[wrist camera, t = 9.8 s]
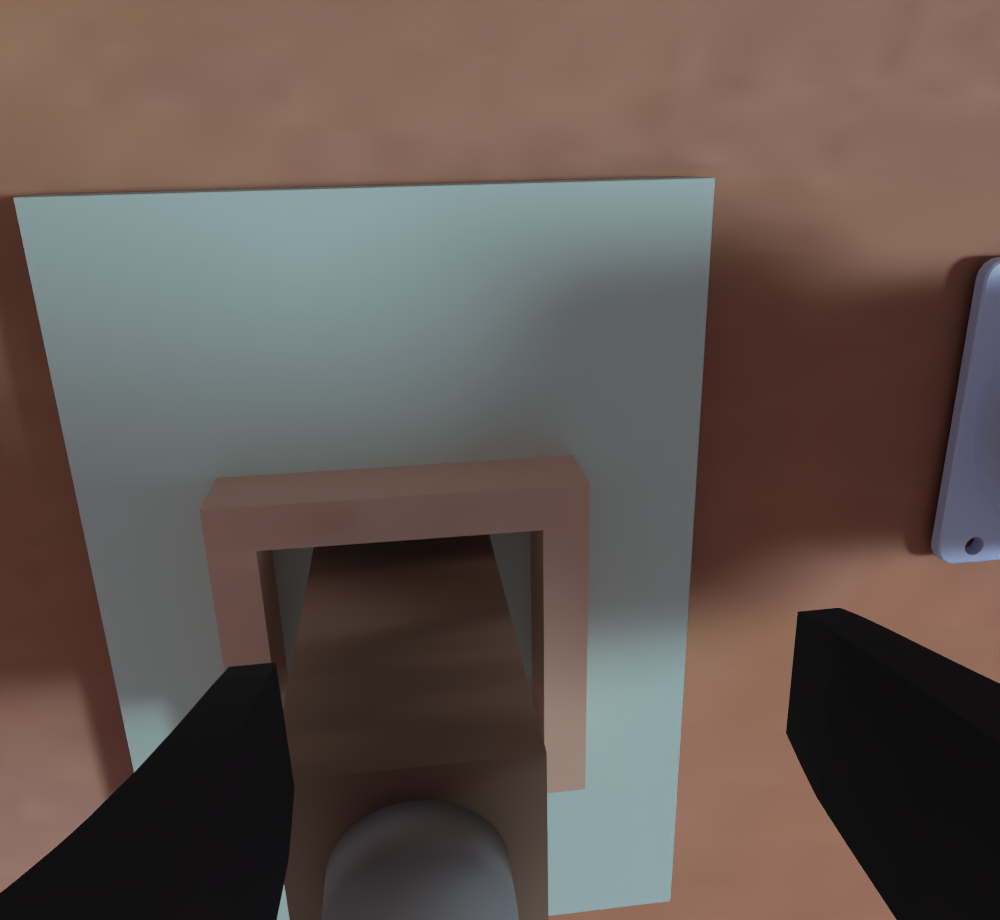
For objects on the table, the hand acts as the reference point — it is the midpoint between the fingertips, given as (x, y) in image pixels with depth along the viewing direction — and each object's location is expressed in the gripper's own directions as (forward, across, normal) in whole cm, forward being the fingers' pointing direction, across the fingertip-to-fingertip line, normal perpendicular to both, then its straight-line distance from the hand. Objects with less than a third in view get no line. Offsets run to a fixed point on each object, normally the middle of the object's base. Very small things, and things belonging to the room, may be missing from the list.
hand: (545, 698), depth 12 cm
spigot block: (+8, +2, +3) cm, 9 cm away
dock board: (+10, +2, +4) cm, 10 cm away
